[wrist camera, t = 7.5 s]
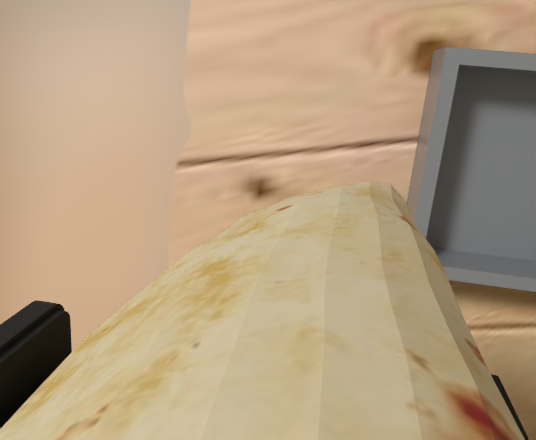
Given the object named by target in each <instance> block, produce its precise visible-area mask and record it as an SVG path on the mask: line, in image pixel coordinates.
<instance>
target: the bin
mask: <svg viewBox="0 0 536 440" xmlns="http://www.w3.org/2000/svg"><path fill="white" fill-rule="evenodd" d="M407 205H408V208H409V211H410V214H411V217H412V220H413V222H414V223H415V224H416V226H417V227H418V229H419V230H420V231H421V233H422V234H423V236H424V237H425V238H426V240H427V241H428V242H429V244H430V245H431V246H432V248H433V249H434V250H435V252H436V255H437V257H438V259H439V261H440V263H441V265H442V267H443V269H444V271H445V273H446V275H447V277H448V280H452V281H460V282H467V283H474V284H482V285H489V286H496V287H503V288H511V289H518V290H525V291H532V292H536V54H529V53H516V52H504V51H491V50H478V49H465V48H452V47H445V48H441V49H438V50H434V52H433V58H432V63H431V69H430V75H429V80H428V86H427V92H426V97H425V103H424V109H423V114H422V120H421V126H420V132H419V137H418V143H417V149H416V154H415V160H414V166H413V171H412V177H411V183H410V188H409V194H408V200H407Z"/></svg>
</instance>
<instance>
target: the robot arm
mask: <svg viewBox="0 0 536 440" xmlns="http://www.w3.org/2000/svg"><path fill="white" fill-rule="evenodd" d="M71 352H72V351H71V328H70V315H69V313H68V312H66V311H64V308H63V306H62V305H60V304H56V303H50V302H43V301H34V302H32V303H30V304H29V305H28V306H26V307H25V308H23V309H22V310H20V311H19V312H18V313H16V314H15V315H13V316H12V317H11V318H9V319H8V320H6V321H5V322H4V323H2V324H1V325H0V429H1V428H2V427H3V426H4V425H5V423H6V422H7V421H8V420H9V419H10V418H11V417H12V416H13V415H14V414H15V413H16V411H17V410H18V409H19V408H20V407H21V406H22V405H23V404H24V403H25V402H26V401H27V400H28V398H29V397H30V396H31V395H32V394H33V393H34V392H35V391H36V390H37V389H38V388H39V387H40V385H41V384H42V383H43V382H44V381H45V380H46V379H47V378H48V377H49V376H50V375H51V374H52V373H53V372H54V371H55V370H56V368H57V367H58V366H59V365H60V364H61V363H62V362H63V361H64V360H65V359H66V358H67V357H68V356H69V355H70V354H71ZM491 376H492V378H493V380H494V382H495V384H496V386H497V388H498V389H499V391H500V393H501V395H502V397H503V399H504V401H505V403H506V405H507V407H508V408H509V410H510V412H511V414H512V416H513V418H514V420H515V422H516V424H517V426H518V428H519V429H520V431H521V433H522V435H523V437H524V439H525V440H529V439H528V437H527V435H526V433H525V431H524V429H523V427H522V425H521V422H520V420H519V418H518V416H517V414H516V412H515V410H514V408H513V406H512V404H511V402H510V400H509V397H508V395H507V393H506V391H505V389H504V387H503V385H502V383H501V381H500V379H499V377H498V376H496V375H491Z"/></svg>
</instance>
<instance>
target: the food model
mask: <svg viewBox="0 0 536 440" xmlns="http://www.w3.org/2000/svg"><path fill="white" fill-rule="evenodd" d="M0 440H525V439H524V437H523V435H522V433H521V431H520V429H519V428H518V426H517V424H516V422H515V420H514V418H513V416H512V414H511V412H510V410H509V408H508V407H507V405H506V403H505V401H504V399H503V397H502V395H501V393H500V391H499V389H498V388H497V386H496V384H495V382H494V380H493V378H492V376H491V374H490V372H489V370H488V369H487V367H486V364H485V362H484V360H483V358H482V356H481V354H480V352H479V350H478V348H477V346H476V343H475V341H474V339H473V337H472V335H471V333H470V331H469V329H468V327H467V325H466V322H465V320H464V318H463V316H462V313H461V311H460V308H459V306H458V303H457V300H456V298H455V295H454V293H453V290H452V287H451V285H450V282H449V280H448V277H447V275H446V273H445V271H444V269H443V267H442V265H441V263H440V261H439V259H438V257H437V255H436V252H435V250H434V249H433V248H432V246H431V245H430V244H429V242H428V241H427V240H426V238H425V237H424V236H423V234H422V233H421V231H420V230H419V229H418V227H417V226H416V224H415V223H414V222H413V220H412V217H411V214H410V211H409V208H408V205H407V202H406V201H405V200H404V198H403V197H402V196H401V195H400V194H399V193H398V192H397V191H396V190H395V189H394V188H393V187H392V185H391V184H387V183H381V182H376V181H363V182H354V183H347V184H343V185H339V186H335V187H330V188H326V189H322V190H318V191H314V192H310V193H306V194H302V195H298V196H294V197H290V198H286V199H284V200H282V201H280V202H278V203H275V204H273V205H271V206H268V207H265V208H263V209H260V210H258V211H255V212H252V213H250V214H247V215H245V216H243V217H242V218H241V219H240V220H239V221H237V222H236V223H235V224H234V225H233V226H232V227H230V228H229V229H227V230H226V231H224V232H223V233H221V234H220V235H218V236H217V237H215V238H213V239H212V240H210V241H208V242H206V243H204V244H202V245H200V246H198V247H196V248H195V249H193V250H191V251H189V252H188V253H187V254H186V255H184V256H183V257H182V258H181V259H180V260H178V261H177V262H176V263H175V264H174V265H172V266H171V267H170V268H169V269H168V270H166V271H165V272H164V273H163V274H162V275H160V276H159V277H158V278H157V279H156V280H154V281H153V282H152V283H151V284H150V285H148V286H147V287H146V288H145V289H144V290H142V291H141V292H140V293H139V294H138V295H136V296H135V297H134V298H133V299H132V300H131V301H129V302H128V303H127V304H126V305H125V306H123V307H122V308H121V309H120V310H119V311H117V312H116V313H115V314H114V315H113V316H111V317H110V318H109V319H108V320H107V321H105V322H104V323H103V324H102V325H101V326H100V327H99V328H97V329H96V330H95V331H94V332H92V333H91V334H90V335H89V336H88V337H87V338H85V339H84V340H83V341H82V342H81V343H80V344H79V345H78V346H77V347H76V348H75V349H74V350H73V352H71V354H70V355H69V356H68V357H67V358H66V359H65V360H64V361H63V362H62V363H61V364H60V365H59V366H58V367H57V368H56V370H55V371H54V372H53V373H52V374H51V375H50V376H49V377H48V378H47V379H46V380H45V381H44V382H43V383H42V384H41V385H40V387H39V388H38V389H37V390H36V391H35V392H34V393H33V394H32V395H31V396H30V397H29V398H28V400H27V401H26V402H25V403H24V404H23V405H22V406H21V407H20V408H19V409H18V410H17V411H16V413H15V414H14V415H13V416H12V417H11V418H10V419H9V420H8V421H7V422H6V423H5V425H4V426H3V427H2V428H1V429H0Z"/></svg>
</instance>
